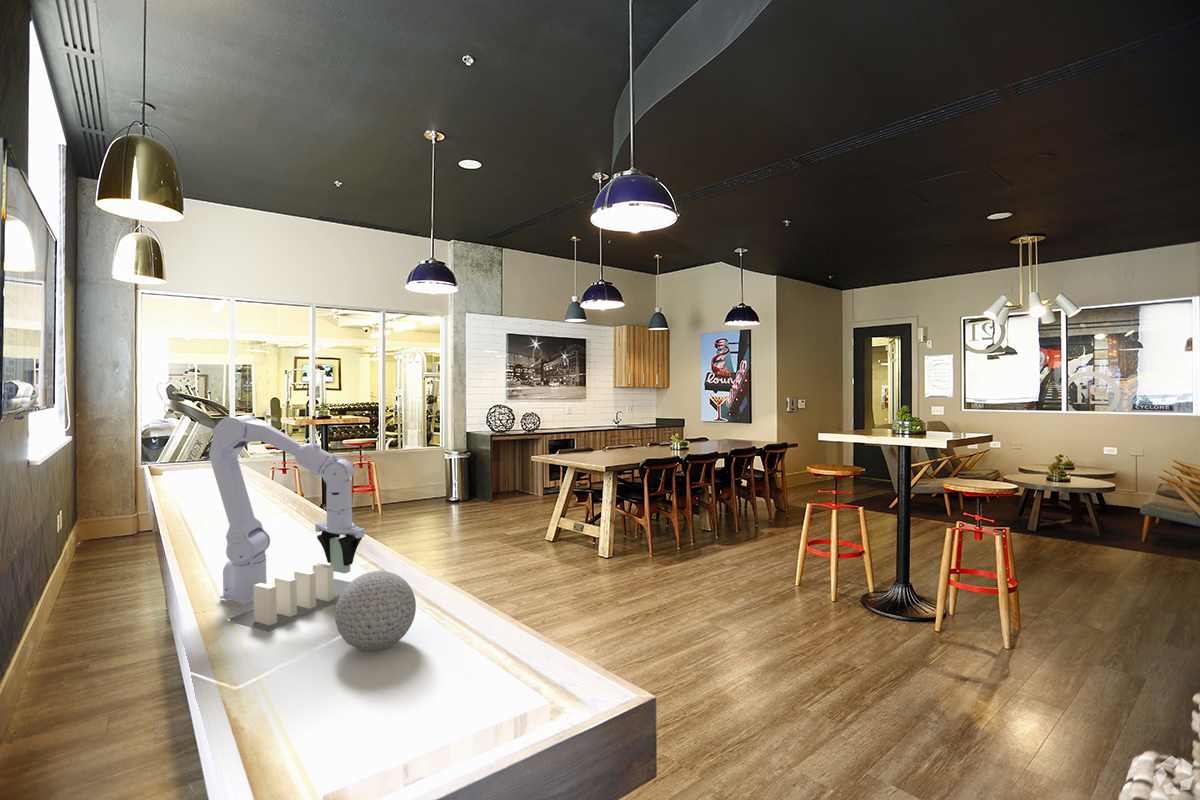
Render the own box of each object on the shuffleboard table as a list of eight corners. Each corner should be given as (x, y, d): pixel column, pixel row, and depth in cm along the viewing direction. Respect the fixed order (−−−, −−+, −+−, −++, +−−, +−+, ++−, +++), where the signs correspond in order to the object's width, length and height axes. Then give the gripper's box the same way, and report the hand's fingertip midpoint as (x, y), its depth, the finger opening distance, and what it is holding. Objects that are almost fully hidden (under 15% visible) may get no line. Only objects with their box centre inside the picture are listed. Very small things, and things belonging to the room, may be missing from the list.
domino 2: (290, 616, 131) (290, 581, 131) (275, 613, 133) (274, 578, 133) (297, 614, 133) (296, 579, 132) (281, 610, 135) (281, 575, 134)
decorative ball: (338, 672, 108) (337, 591, 107) (333, 639, 121) (332, 567, 120) (422, 654, 115) (422, 578, 114) (409, 625, 128) (408, 557, 127)
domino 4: (328, 601, 140) (327, 568, 140) (313, 597, 142) (312, 565, 142) (333, 599, 142) (333, 566, 141) (318, 595, 144) (318, 563, 143)
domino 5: (345, 573, 145) (344, 541, 144) (330, 570, 147) (329, 538, 146) (350, 571, 146) (349, 539, 146) (335, 568, 148) (335, 537, 148)
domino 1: (269, 625, 127) (269, 588, 126) (254, 621, 129) (253, 585, 128) (276, 622, 128) (276, 586, 128) (261, 618, 130) (260, 582, 130)
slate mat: (224, 621, 129) (224, 619, 129) (333, 580, 156) (333, 578, 156) (268, 633, 124) (268, 631, 124) (373, 588, 150) (373, 586, 150)
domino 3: (310, 608, 136) (309, 574, 135) (294, 605, 138) (294, 571, 137) (316, 606, 137) (315, 572, 137) (300, 602, 139) (300, 569, 139)
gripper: (373, 508, 146) (374, 562, 147) (331, 502, 152) (332, 554, 153) (351, 514, 140) (351, 570, 141) (307, 508, 146) (308, 562, 146)
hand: (340, 563), depth 146 cm, fingers closed on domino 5, 5 cm apart
